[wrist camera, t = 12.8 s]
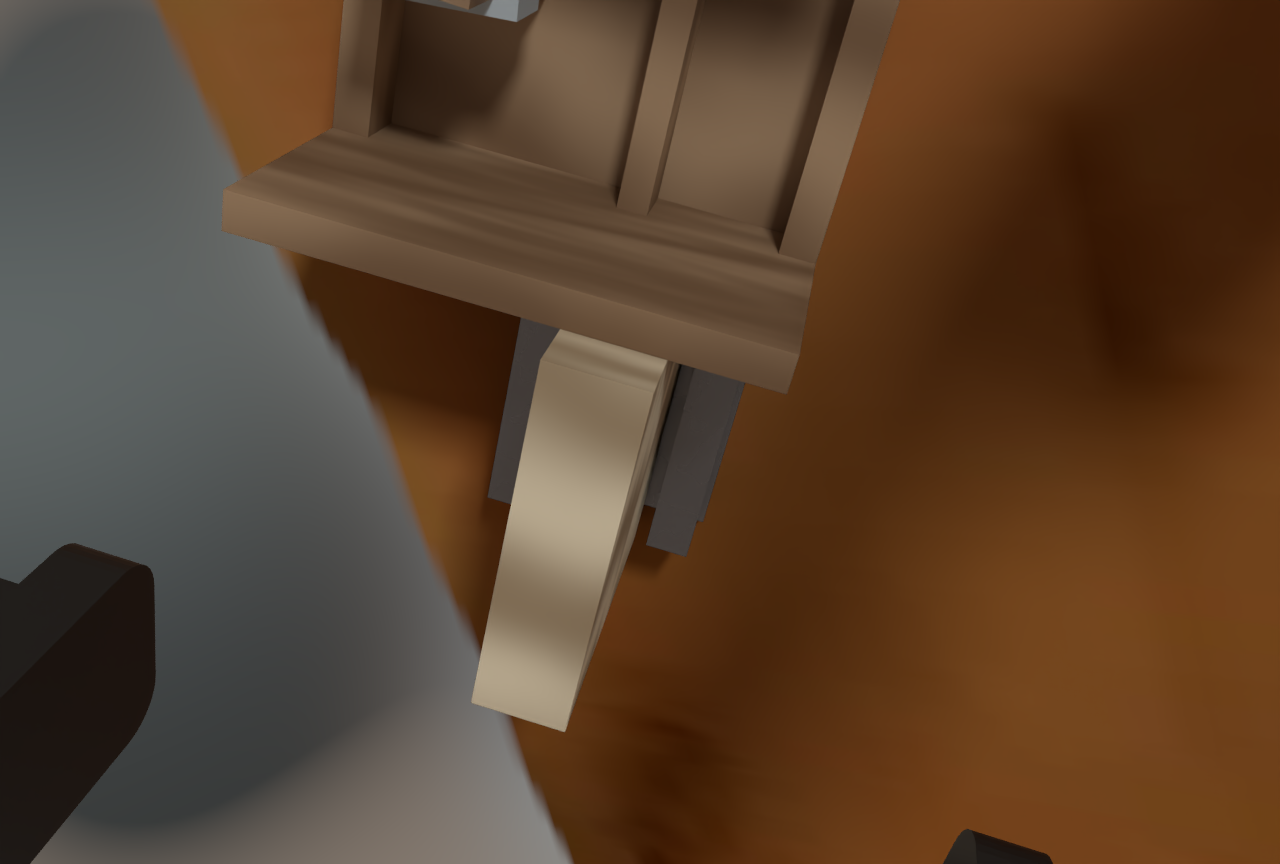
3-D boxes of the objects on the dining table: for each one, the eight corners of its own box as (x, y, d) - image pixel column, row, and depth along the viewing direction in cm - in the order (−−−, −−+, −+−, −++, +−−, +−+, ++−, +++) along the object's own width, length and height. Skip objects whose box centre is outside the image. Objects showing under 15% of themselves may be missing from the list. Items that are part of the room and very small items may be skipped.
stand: (549, 235, 41) (522, 269, 38) (769, 298, 40) (760, 337, 37) (508, 449, 45) (480, 495, 42) (706, 508, 45) (692, 558, 42)
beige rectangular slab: (627, 225, 39) (540, 359, 30) (713, 250, 39) (653, 393, 29) (560, 513, 45) (470, 702, 36) (635, 536, 45) (565, 732, 35)
